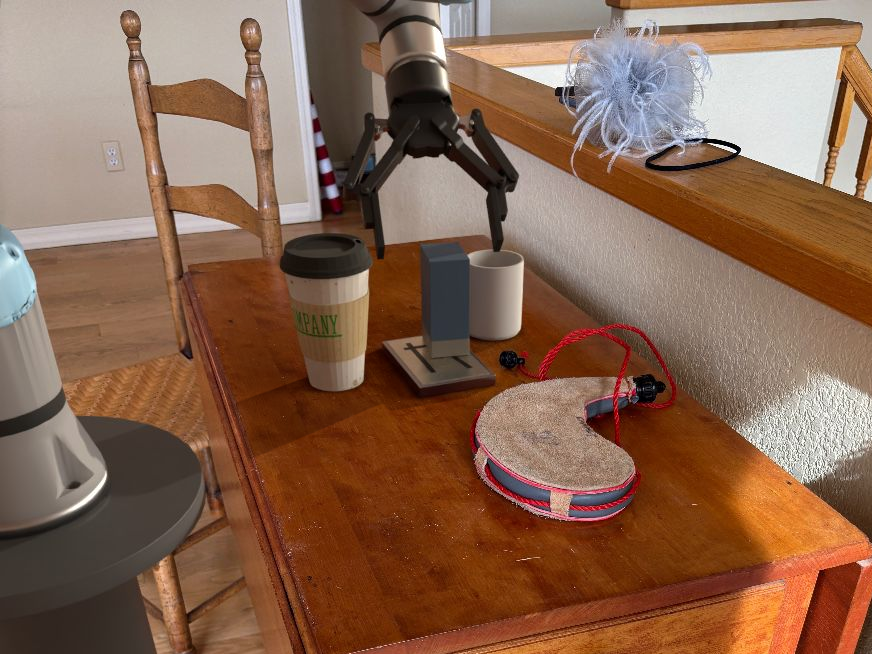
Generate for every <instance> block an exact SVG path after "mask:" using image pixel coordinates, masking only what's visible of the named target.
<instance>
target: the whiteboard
mask: <svg viewBox="0 0 872 654" xmlns="http://www.w3.org/2000/svg"><path fill="white" fill-rule="evenodd" d="M381 351H382V352H383V354H384V355H385V356H386V357H387V359H388V360H389V361H390V363H392V365H393V366H394V367H395V368H396V370H397V371H398V372H399V373H400V375H401V376H402V377H403V378H404V380H405V381H406V382H407V383H408V384H409V385H410V387H411V388H412V389H413V391H415V393H416V394H417V395H418V397H419V398H424V397H425V398H426V397H430V396H438V395H443V394H448V393H449V394H450V393H454V392H460V391H461V392H462V391H467V390H472V389H478V388H485V387H489V386H495V385H496V374H495V373H494V372H493V371H492V370H491V369H490V368H489V367H488V366H487V365H486V364H485V363H484V362H483V361H482V360H481V359H480V358H479V357H478V356H477V355H476V354H475V353H474V352H473V351H472V350H471V349H470V348H469V355H462V356H450V357H438V358H431V356H430V353H429V351H428V349H427V346H426V344H425V342H424V339H423V337H422V335H416V336H412V337H410V336H409V337H403V338H396V339H389V340H384V341H381Z"/></svg>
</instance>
